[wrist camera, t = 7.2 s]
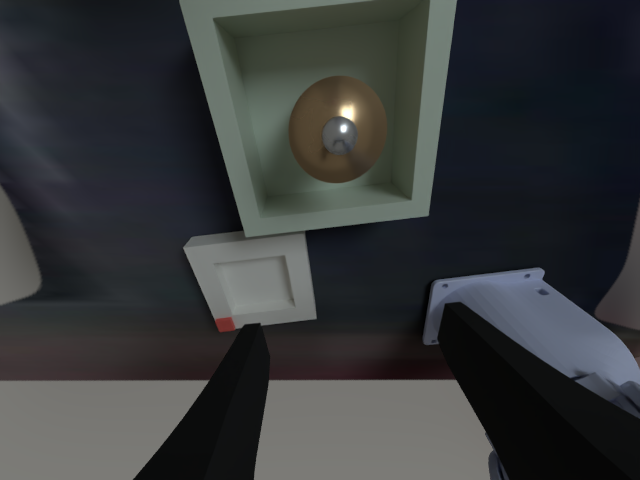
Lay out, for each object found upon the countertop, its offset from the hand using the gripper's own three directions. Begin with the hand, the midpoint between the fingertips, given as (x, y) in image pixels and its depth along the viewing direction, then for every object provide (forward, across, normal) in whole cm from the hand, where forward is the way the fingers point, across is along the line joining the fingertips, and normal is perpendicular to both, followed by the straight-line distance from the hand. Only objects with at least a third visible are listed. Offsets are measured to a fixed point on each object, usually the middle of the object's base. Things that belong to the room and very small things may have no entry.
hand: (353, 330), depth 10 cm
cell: (+9, 0, -7) cm, 11 cm away
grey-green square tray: (+9, 0, -7) cm, 12 cm away
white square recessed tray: (+9, +6, +4) cm, 12 cm away
